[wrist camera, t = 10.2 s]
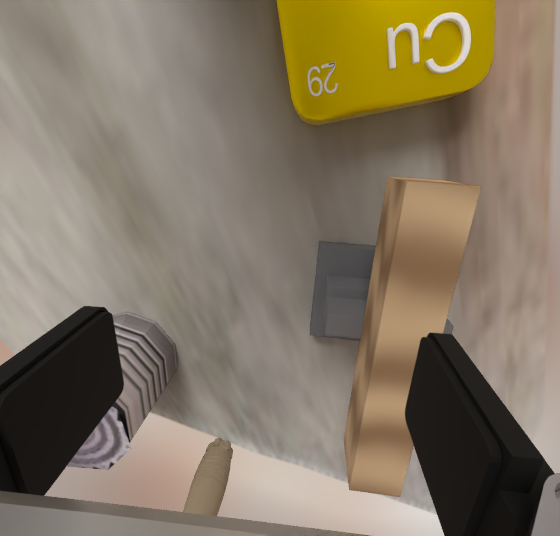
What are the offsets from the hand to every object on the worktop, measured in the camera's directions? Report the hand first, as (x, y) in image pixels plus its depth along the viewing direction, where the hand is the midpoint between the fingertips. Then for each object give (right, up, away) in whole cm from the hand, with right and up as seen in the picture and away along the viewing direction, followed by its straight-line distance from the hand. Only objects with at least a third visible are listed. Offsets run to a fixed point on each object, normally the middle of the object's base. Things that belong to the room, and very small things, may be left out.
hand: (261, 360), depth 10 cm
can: (-17, -8, +30) cm, 36 cm away
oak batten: (+9, -2, +17) cm, 19 cm away
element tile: (+8, +24, +17) cm, 30 cm away
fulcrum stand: (+10, 0, +24) cm, 26 cm away
